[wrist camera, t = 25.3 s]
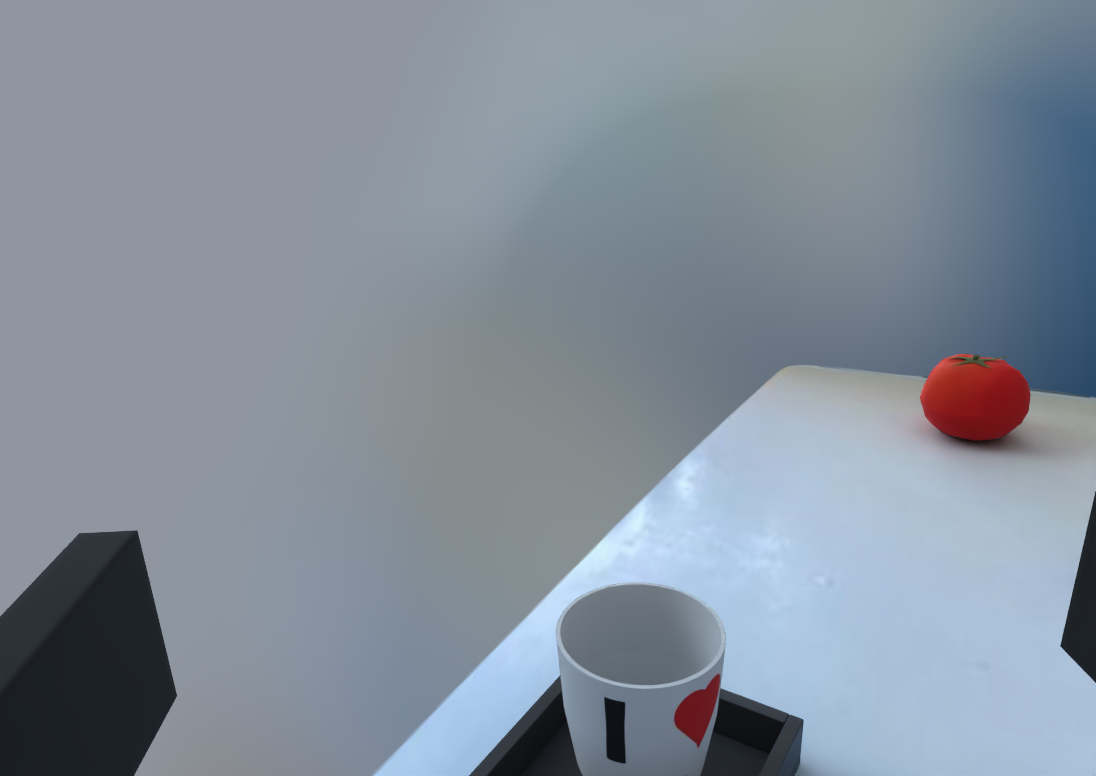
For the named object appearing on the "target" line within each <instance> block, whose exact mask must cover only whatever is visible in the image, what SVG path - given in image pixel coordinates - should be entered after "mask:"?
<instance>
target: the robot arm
mask: <svg viewBox="0 0 1096 776" xmlns="http://www.w3.org/2000/svg"><path fill="white" fill-rule="evenodd" d="M1061 647H1062V648H1063V649H1064V650H1065V652H1066V653H1067V654H1068V655H1069V656H1070V657H1071V658H1072V659H1073V660H1074V661H1075V662H1076V663H1077V664H1078V665H1079V666H1080V667H1081V668H1082V669H1083V670H1084V671H1085V672H1086V673H1087V674H1088V675H1089V676H1090V677H1091V678H1092V679H1093V680H1094V681H1095V682H1096V492H1095V496H1094V501H1093V505H1092V510H1091V514H1090V518H1089V523H1088V527H1087V531H1086V536H1085V540H1084V545H1083V549H1082V553H1081V558H1080V562H1079V567H1078V571H1077V575H1076V580H1075V584H1074V589H1073V593H1072V597H1071V602H1070V606H1069V611H1068V615H1067V619H1066V624H1065V628H1064V633H1063V637H1062V641H1061ZM176 697H177V694H176V690H175V685H174V681H173V677H172V674H171V669H170V665H169V661H168V656H167V652H166V648H165V644H164V640H163V636H162V631H161V627H160V623H159V619H158V615H157V610H156V606H155V602H154V598H153V594H152V590H151V586H150V582H149V577H148V573H147V569H146V565H145V561H144V556H143V553H142V548H141V544H140V540H139V536H138V531H120V532H99V533H79V534H78V535H77V536H76V538H74V540H73V541H72V542H71V543H70V544H69V545H68V546H67V547H66V548H65V549H64V550H63V551H62V552H61V553H60V554H59V555H58V557H56V559H55V560H54V561H53V562H52V563H51V564H50V565H49V566H48V567H47V568H46V569H45V570H44V571H43V572H42V573H41V575H39V576H38V578H37V579H36V580H35V581H34V582H33V583H32V584H31V585H30V586H29V587H28V588H27V589H26V590H25V591H24V592H23V593H22V594H21V595H20V597H19V598H18V599H17V600H16V601H15V602H14V603H13V604H12V605H11V606H10V607H9V608H8V609H7V610H6V611H5V612H4V613H3V614H2V615H1V616H0V776H134V774H135V772H136V771H137V769H138V767H139V765H140V763H141V762H142V760H143V758H144V756H145V754H146V752H147V750H148V749H149V747H150V745H151V743H152V741H153V739H154V737H155V736H156V734H157V732H158V730H159V728H160V726H161V725H162V723H163V721H164V719H165V717H166V715H167V713H168V712H169V710H170V708H171V706H172V704H173V702H174V700H175V699H176Z"/></svg>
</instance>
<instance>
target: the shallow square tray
mask: <svg viewBox="0 0 1096 776" xmlns="http://www.w3.org/2000/svg"><path fill="white" fill-rule="evenodd" d="M803 722H804V721H803V719H801V718H798V717H795V716H793V715H789V714H788V713H785V712H782V711H780V710H777V709H774V708H772V707H769V706H766V705H764V704H761V703H758V702H756V701H753V700H750V699H748V698H745V697H742V696H740V695H737V694H734V693H732V692H729V691H726V690H724V689H721V688H720V694H719V702H718V710H717V716H716V720H715V724H714V728H713V732H712V735H711V739H710V743H709V747H708V751H707V754H706V758H705V762H704V766H703V770H702V772H701V775H700V776H794V775H795V773H796V770H797V768H798V766H799V764H800V753H801V743H802V732H803ZM469 776H583V775H582V773H581V771H580V768H579V766H578V763H577V759H576V755H575V751H574V747H573V743H572V739H571V734H570V730H569V726H568V722H567V718H566V714H565V709H564V704H563V694H562V685H561V676H559V677H558V678H557V679H556V681H555V682H554V683H553V684H552V685H551V686H550V687H549V688H548V689H547V690H546V692H545V693H544V694H543V695H542V696H541V697H540V698H539V699H538V700H537V702H536V703H535V704H534V705H533V706H532V707H531V708H530V709H529V710H528V711H527V713H526V714H525V715H524V716H523V717H522V718H521V719H520V720H519V721H518V722H517V724H516V725H515V726H514V727H513V728H512V729H511V730H510V731H509V732H508V733H507V735H506V736H505V737H504V738H503V739H502V740H501V741H500V742H499V743H498V744H497V746H496V747H495V748H494V749H493V750H492V751H491V752H490V753H489V754H488V755H487V757H486V758H485V759H484V760H483V761H482V762H481V763H480V764H479V765H478V767H477V768H476V769H475V770H474V771H473V772H472V773H471V774H470V775H469Z"/></svg>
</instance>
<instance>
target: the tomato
mask: <svg viewBox="0 0 1096 776" xmlns="http://www.w3.org/2000/svg"><path fill="white" fill-rule="evenodd" d="M1004 357H1007V356H1004ZM1004 357H999V358H983V357H979V355H969V354H957V355H954V356H951V357H948V358H945V359H943V360H942V361H941V362H940V363H939V364H938V365H937V366H936V367H935V368H934V369H933V370H932V371H931V373H930V375H929V377H928V379H927V380H926V382H925V385H924V387H923V389H922V392H921V395H920V399H921V403H922V407H923V410H924V414H925V417H926V418H927V419H928V420H929V421H930V423H931V424H933V425H934V426H935V427H936V428H938V429H939V430H940V431H941V432H943V433H945V434H948V435H950V436H955V437H959V438H964V439H968V440H973V441H978V440H990V439H996V438H999V437H1002V436H1005V435H1006V434H1008V433H1009V432H1010V431H1012V430H1013V429H1014V428H1016V427H1017V426H1018V425H1020V424H1021V423H1022V421H1023V419H1024V418H1025V416H1026V414H1027V413H1028V410H1029V403H1030V390H1029V386H1028V383H1027V381H1026V380H1025V378H1024V377H1023V375H1022V374H1021V373H1020V371H1018V370H1016V369H1015V368H1013V367H1011V366H1010V365H1009V364H1007V363H1006V362H1005V361H1004V360H999V359H1000V358H1004Z"/></svg>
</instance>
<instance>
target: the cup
mask: <svg viewBox="0 0 1096 776" xmlns="http://www.w3.org/2000/svg"><path fill="white" fill-rule="evenodd" d="M556 639H557V648H558V657H559V667H560V676H561V685H562V694H563V704H564V709H565V714H566V718H567V722H568V726H569V730H570V734H571V739H572V743H573V747H574V751H575V755H576V759H577V763H578V766H579V768H580V771H581V773H582V775H583V776H700V775H701V772H702V770H703V766H704V762H705V758H706V754H707V751H708V747H709V743H710V739H711V735H712V732H713V728H714V724H715V720H716V716H717V710H718V702H719V694H720V686H721V678H722V669H723V661H724V653H725V645H726V633H725V629H724V626H723V624H722V622H721V620H720V618H719V617H718V615H717V614H716V613H715V612H714V611H713V610H712V609H711V608H710V607H709V606H708V605H707V604H706V603H704V602H703V601H701V600H700V599H698V598H697V597H695V596H693V595H691V594H689V593H687V592H684V591H682V590H679V589H676V588H672V587H669V586H664V585H659V584H653V583H637V582H635V583H620V584H613V585H608V586H604V587H600V588H597V589H594V590H592V591H590V592H587V593H585V594H583V595H582V596H580V597H578V598H577V599H575V600H574V601H573V602H571V603H570V604H569V605H568V606H567V607H566V608H565V610H564V611H563V612H562V614H561V616H560V617H559V620H558V623H557V627H556Z"/></svg>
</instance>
